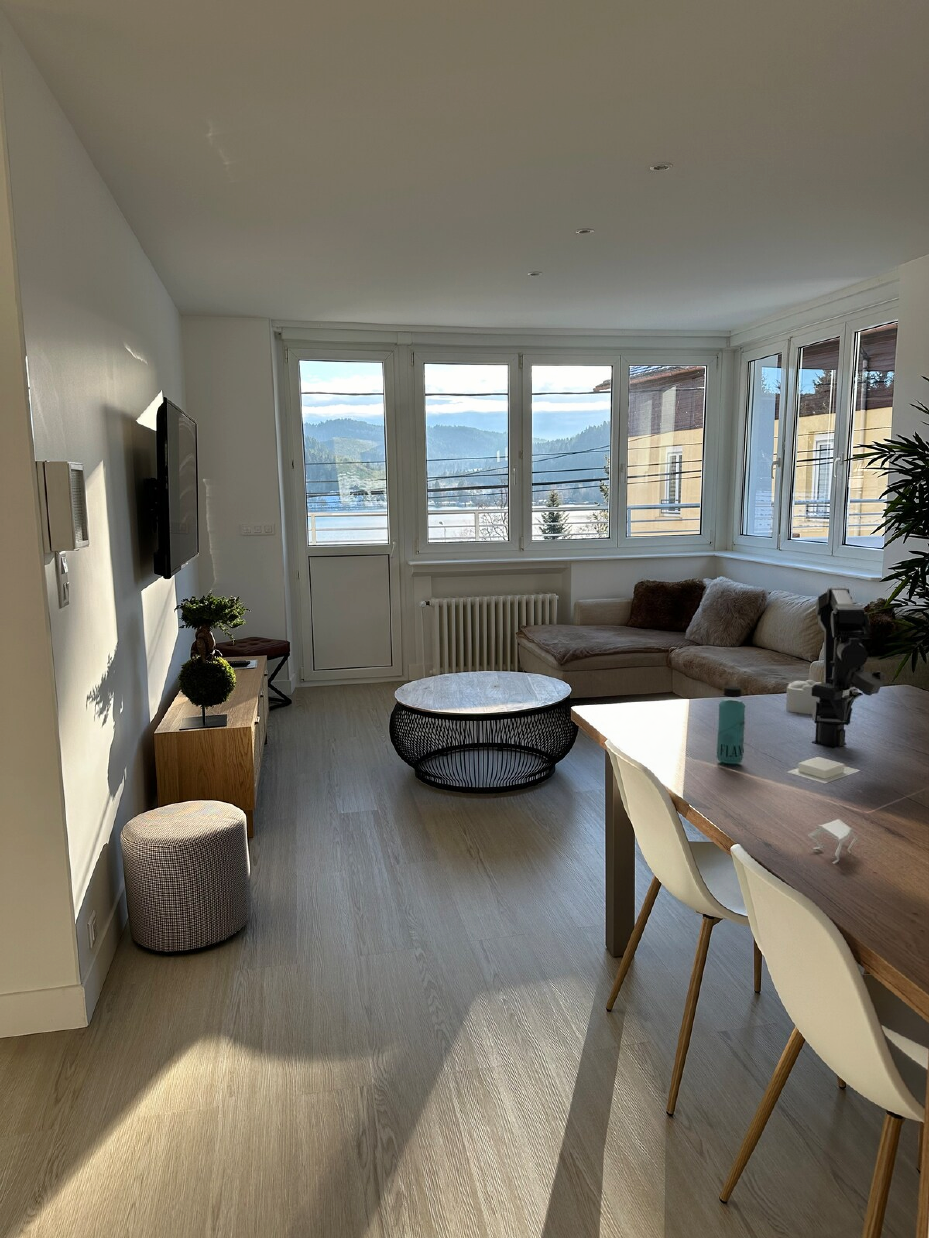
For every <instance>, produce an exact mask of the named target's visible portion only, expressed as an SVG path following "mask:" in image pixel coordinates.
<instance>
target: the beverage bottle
mask: <svg viewBox="0 0 929 1238" xmlns="http://www.w3.org/2000/svg"><path fill="white" fill-rule="evenodd" d="M723 688H724V690H723V696H724V697H727V698H726V699H725V698H724V699H723V700H721V701H720V702H719V703H718V727H717V728H718V729H717V730H718V731H717V735H716V736H717V738H716V739H717V741H716V743H717V744H716V753H715V754H716V756H715V757H716V759H717V760H718V761H719V762H721V763H725V764H730V765H731V764H733V765H734V764H740V763H742V762H743V760H744V754H745V751H744V750H745V748H744V741H745V740H744V739H745V736H744V734H745V730H746V729H745V726H746V720H745V719H746V718H745V712H746V705H745V704H744V702H743V701H742V700H740V699H736V698H740V697H742V689H741V687H740V686H734V685H727V686H725V687H723ZM728 697H729V698H728Z"/></svg>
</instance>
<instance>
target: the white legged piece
mask: <svg viewBox="0 0 929 1238" xmlns="http://www.w3.org/2000/svg"><path fill="white" fill-rule="evenodd" d="M822 833H826V834H828V835H829V836H830V837H832V838H833V839H835V840H837V842H838V846H837V848H836V851H835V853H834V855H835V858H836V859H835V860H834V861H832V864H833V865H836V864H837V863H838V862H839V861H840V852H841V850H842V846H843V843H844V842H846V841H847V840H848V839H849V838H850V836H852V837H853V839H852V841H851V843H850V844H849V846H848V847H847V851H848V853H849V854H851V851H850V849H851V848H852V846H853V845H854V844H855V842H856V841H857V839H858V838H857V837H856V835H855V834H854V832H853V828H852V827H849V825H847V824H846V823H844V822H843V820H841V819H840V818H836V819H835V820H832V821H830V822H827V823H824V824H817V829H815V830H813V831H811V832H810V833H807V836H808V837H809V838H810V839H811V840H812V841H813V842H815V844H817V846H816V847H812V849H813V850H820V849H824V846H823V845H822V844H821V843H820V842H819V841H818V840H817V839H816V838H815V837H816V836H818V835H819V834H822Z"/></svg>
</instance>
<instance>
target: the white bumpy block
mask: <svg viewBox="0 0 929 1238" xmlns="http://www.w3.org/2000/svg"><path fill="white" fill-rule="evenodd" d="M820 683H822V682H819V681H818V682H816V681H814V680H813V679H807V680H805V681H802V680H794V681H793V682H790V683H788V685H787V687H786V697H785V698H786V700H785V701H786V703H785V711H788V712H792V713H797V712H798V713H797V714H809V715H813V708H814V704H815V701H817V697H815V696H811V687H813V686H814V685H816V684H820Z"/></svg>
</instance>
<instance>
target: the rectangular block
mask: <svg viewBox="0 0 929 1238" xmlns="http://www.w3.org/2000/svg"><path fill="white" fill-rule="evenodd" d="M844 766H846V765H845V763H842V762H838V761H835V760H832V759H831V760H830V759H828V758H824V757H822V756H821V757H820V756H816V757H813V758H809V759H806V760H803V761H800V762H798V767H797V768H798V771H799V772H802V773H806V774H809V775H812V776H816V777H819V778H823V779H826V778H829V777H832V776H835V775H837V774H840V773H843V772H844Z"/></svg>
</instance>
